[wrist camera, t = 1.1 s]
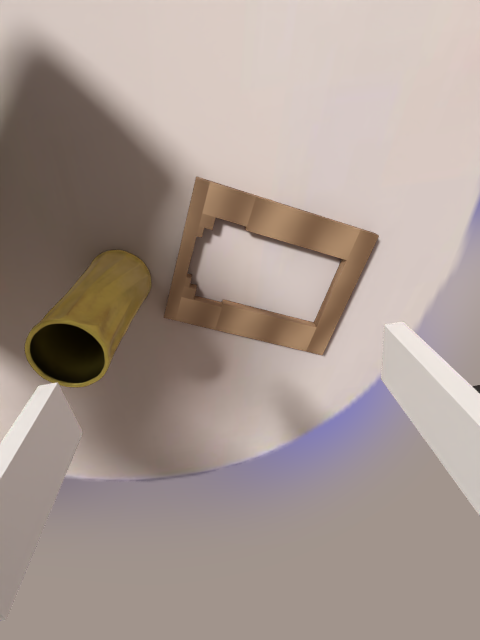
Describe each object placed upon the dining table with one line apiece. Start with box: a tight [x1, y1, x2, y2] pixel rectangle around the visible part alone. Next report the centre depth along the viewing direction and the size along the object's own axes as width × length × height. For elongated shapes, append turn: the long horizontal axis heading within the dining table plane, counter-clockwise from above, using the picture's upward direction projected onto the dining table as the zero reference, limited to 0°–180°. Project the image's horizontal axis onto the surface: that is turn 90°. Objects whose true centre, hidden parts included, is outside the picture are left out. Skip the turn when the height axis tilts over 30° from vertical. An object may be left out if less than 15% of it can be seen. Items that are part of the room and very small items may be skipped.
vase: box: [25, 250, 151, 387], centre depth 29 cm, size 6×6×14 cm
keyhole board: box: [164, 177, 379, 355], centre depth 35 cm, size 18×14×1 cm
